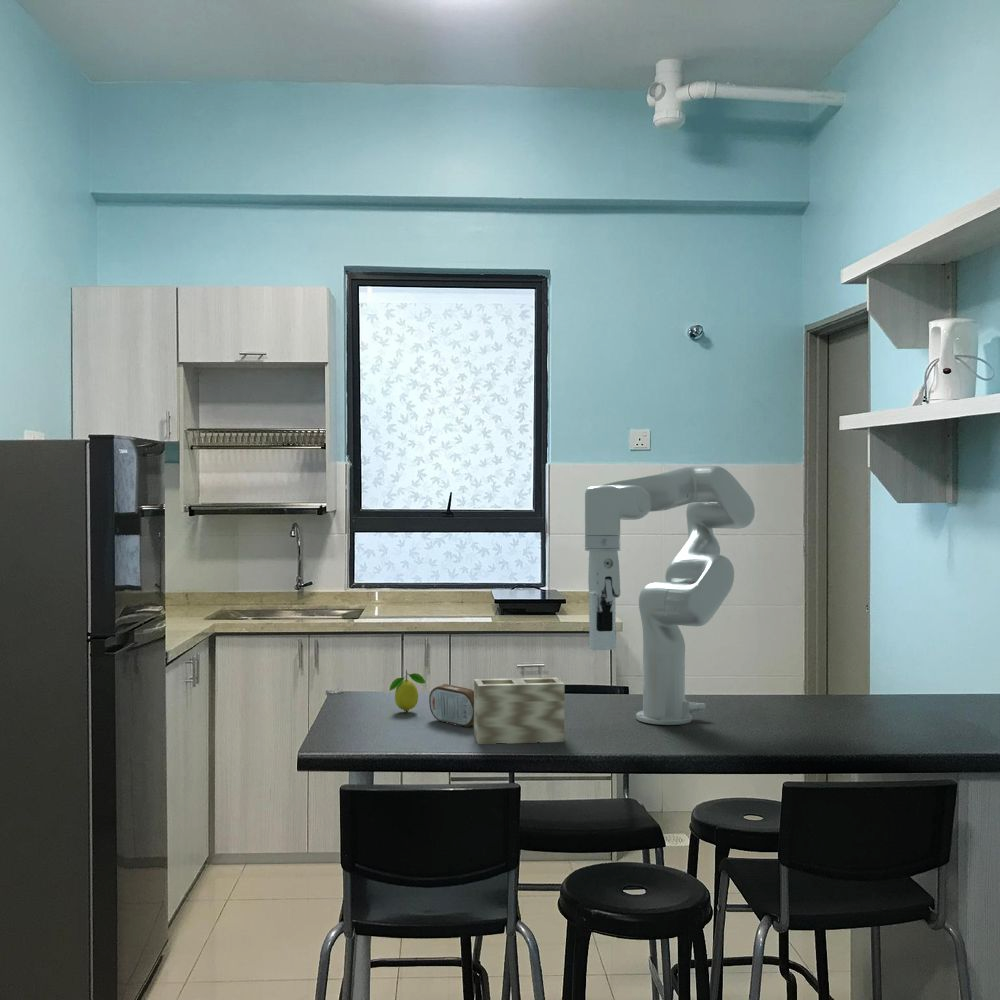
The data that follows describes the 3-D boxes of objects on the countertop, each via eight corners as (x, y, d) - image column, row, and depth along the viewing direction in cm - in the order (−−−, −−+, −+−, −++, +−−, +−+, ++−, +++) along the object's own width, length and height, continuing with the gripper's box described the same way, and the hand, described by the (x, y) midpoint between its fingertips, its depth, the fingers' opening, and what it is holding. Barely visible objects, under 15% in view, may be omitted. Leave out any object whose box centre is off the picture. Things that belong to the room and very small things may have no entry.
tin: (483, 728, 221) (483, 690, 221) (473, 730, 219) (473, 691, 219) (436, 718, 231) (436, 681, 231) (426, 720, 229) (426, 683, 229)
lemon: (425, 711, 239) (425, 669, 239) (412, 715, 233) (412, 672, 233) (401, 708, 242) (402, 667, 242) (388, 713, 236) (388, 670, 237)
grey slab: (612, 647, 215) (611, 591, 215) (615, 649, 212) (615, 593, 212) (589, 648, 215) (589, 592, 215) (592, 650, 212) (592, 593, 212)
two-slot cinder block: (556, 733, 216) (556, 677, 216) (564, 741, 208) (564, 684, 208) (473, 735, 214) (474, 679, 214) (478, 744, 206) (478, 685, 206)
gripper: (629, 545, 206) (630, 634, 206) (610, 542, 222) (610, 625, 222) (594, 545, 205) (594, 635, 205) (577, 542, 221) (577, 625, 221)
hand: (602, 629), depth 214 cm, fingers closed on grey slab, 3 cm apart
